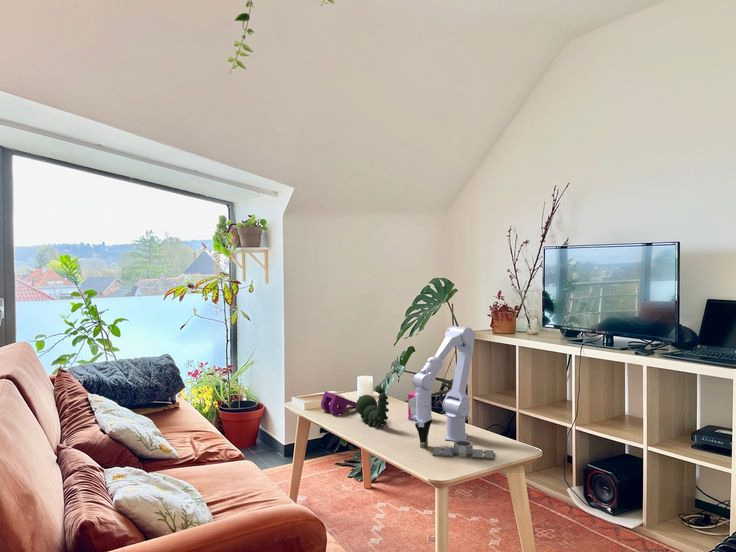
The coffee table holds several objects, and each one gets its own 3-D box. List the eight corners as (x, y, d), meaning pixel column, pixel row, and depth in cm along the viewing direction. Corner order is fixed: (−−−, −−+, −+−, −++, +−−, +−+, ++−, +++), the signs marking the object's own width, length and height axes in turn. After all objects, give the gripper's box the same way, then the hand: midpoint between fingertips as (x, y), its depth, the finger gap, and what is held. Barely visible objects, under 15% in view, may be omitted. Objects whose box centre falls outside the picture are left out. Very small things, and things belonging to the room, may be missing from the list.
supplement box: (426, 419, 251) (426, 393, 251) (418, 422, 247) (417, 395, 246) (416, 416, 255) (415, 391, 255) (407, 419, 251) (407, 393, 250)
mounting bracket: (347, 419, 274) (318, 408, 264) (353, 402, 276) (325, 391, 266) (358, 423, 266) (329, 412, 256) (365, 406, 268) (336, 394, 258)
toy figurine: (393, 432, 238) (368, 412, 260) (395, 388, 236) (369, 372, 258) (373, 435, 234) (349, 415, 256) (374, 391, 232) (350, 374, 254)
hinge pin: (420, 445, 216) (420, 424, 216) (428, 445, 215) (428, 425, 215) (419, 448, 213) (419, 426, 213) (427, 448, 212) (427, 427, 212)
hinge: (432, 455, 204) (432, 444, 204) (435, 448, 212) (434, 438, 212) (493, 460, 199) (493, 448, 199) (493, 452, 207) (493, 441, 207)
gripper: (415, 399, 222) (416, 434, 222) (410, 409, 207) (410, 446, 208) (434, 400, 220) (434, 435, 220) (429, 410, 206) (429, 447, 206)
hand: (423, 440), depth 214 cm, fingers closed on hinge pin, 3 cm apart
